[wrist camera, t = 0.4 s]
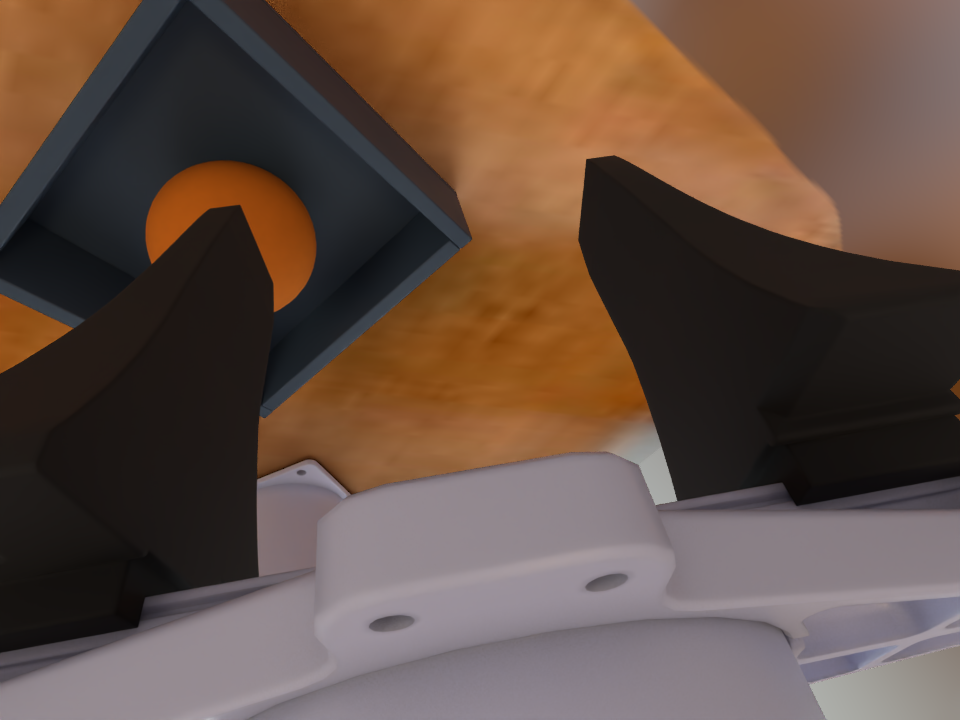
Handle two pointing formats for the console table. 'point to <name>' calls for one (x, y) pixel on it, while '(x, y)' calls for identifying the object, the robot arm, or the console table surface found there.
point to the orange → (265, 206)
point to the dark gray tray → (237, 137)
